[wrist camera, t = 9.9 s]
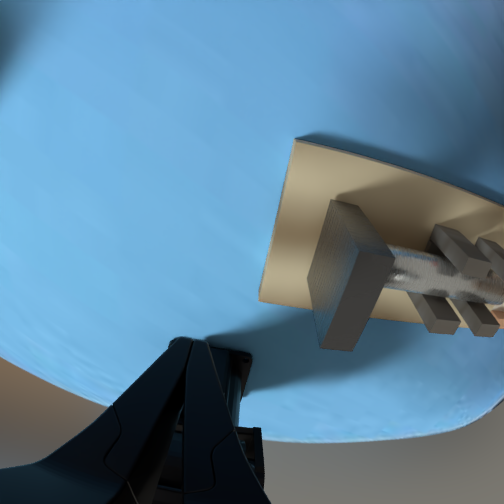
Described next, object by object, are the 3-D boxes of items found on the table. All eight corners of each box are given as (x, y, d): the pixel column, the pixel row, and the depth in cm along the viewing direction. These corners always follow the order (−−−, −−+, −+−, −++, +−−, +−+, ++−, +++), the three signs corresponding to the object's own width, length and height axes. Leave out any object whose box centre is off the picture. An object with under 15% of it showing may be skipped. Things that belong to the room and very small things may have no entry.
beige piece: (474, 320, 22) (502, 363, 18) (258, 290, 21) (257, 348, 17) (525, 215, 18) (568, 248, 13) (294, 138, 17) (306, 158, 12)
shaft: (473, 304, 20) (510, 357, 15) (306, 278, 19) (319, 348, 14) (503, 246, 17) (550, 292, 12) (330, 198, 17) (359, 250, 12)
